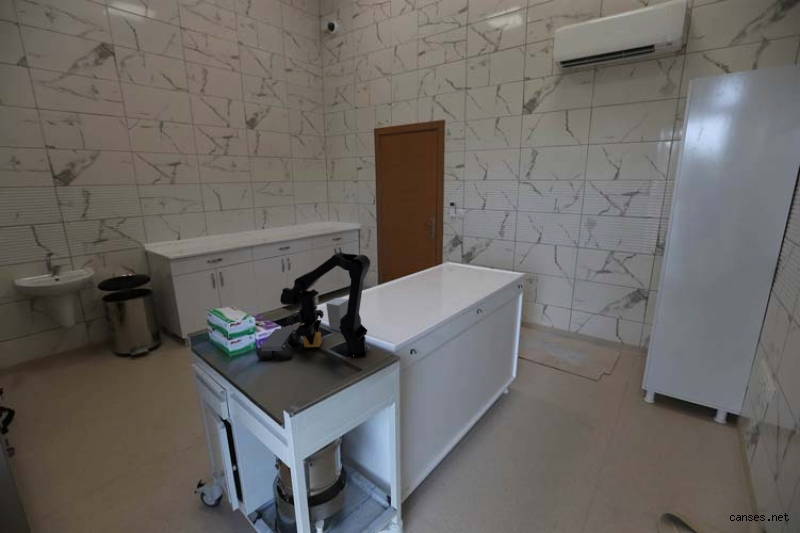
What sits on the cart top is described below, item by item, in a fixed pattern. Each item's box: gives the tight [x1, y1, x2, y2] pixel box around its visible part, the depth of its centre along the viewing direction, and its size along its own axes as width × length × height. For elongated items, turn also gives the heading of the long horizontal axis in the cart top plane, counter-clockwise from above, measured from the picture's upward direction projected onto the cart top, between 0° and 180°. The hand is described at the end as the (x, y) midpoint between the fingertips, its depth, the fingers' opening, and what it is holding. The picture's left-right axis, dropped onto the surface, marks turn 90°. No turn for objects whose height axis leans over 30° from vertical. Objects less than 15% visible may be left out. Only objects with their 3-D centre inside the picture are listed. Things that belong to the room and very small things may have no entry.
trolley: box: [256, 327, 302, 362], centre depth 146 cm, size 13×15×6 cm
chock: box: [302, 331, 323, 348], centre depth 147 cm, size 6×4×4 cm, turn 87°
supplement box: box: [326, 297, 349, 332], centre depth 164 cm, size 7×7×13 cm
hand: (312, 341), depth 148 cm, fingers closed on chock, 4 cm apart
